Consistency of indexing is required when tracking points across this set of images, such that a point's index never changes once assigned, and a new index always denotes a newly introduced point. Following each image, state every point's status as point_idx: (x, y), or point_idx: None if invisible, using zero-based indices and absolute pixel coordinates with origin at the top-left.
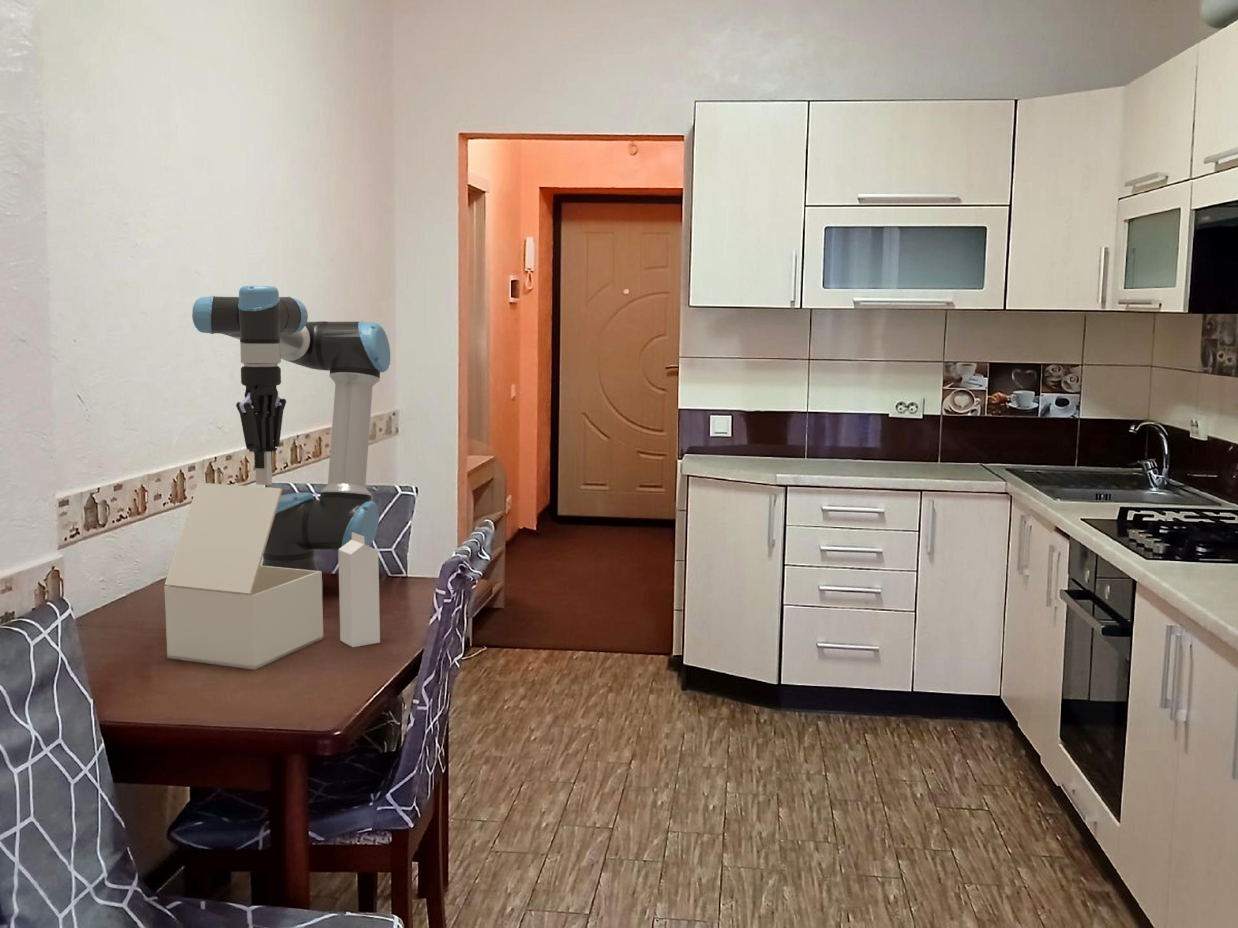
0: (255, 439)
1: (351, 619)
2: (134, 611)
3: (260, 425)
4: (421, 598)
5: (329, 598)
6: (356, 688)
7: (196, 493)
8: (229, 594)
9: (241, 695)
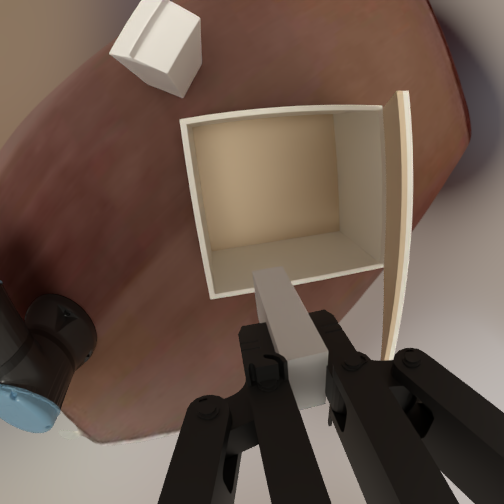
0: (456, 383)
1: (201, 55)
2: (220, 391)
3: (442, 483)
4: None
5: (46, 269)
6: None
7: None
8: (384, 149)
9: (397, 73)
